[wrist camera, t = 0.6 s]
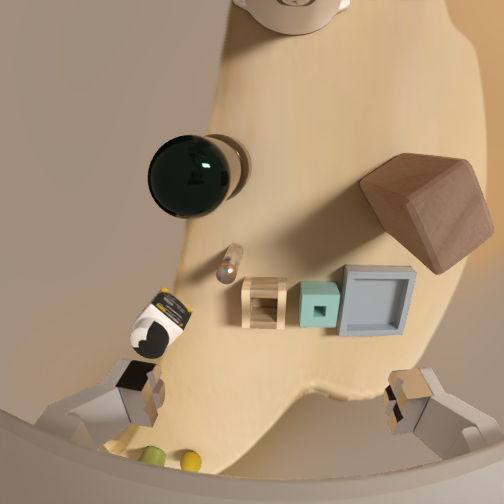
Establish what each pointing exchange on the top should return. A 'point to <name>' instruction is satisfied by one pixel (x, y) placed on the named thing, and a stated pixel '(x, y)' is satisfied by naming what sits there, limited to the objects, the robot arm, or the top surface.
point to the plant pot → (153, 456)
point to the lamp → (197, 174)
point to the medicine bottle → (159, 324)
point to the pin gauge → (230, 264)
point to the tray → (375, 300)
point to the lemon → (190, 462)
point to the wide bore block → (263, 315)
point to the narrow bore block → (318, 304)
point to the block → (430, 207)
